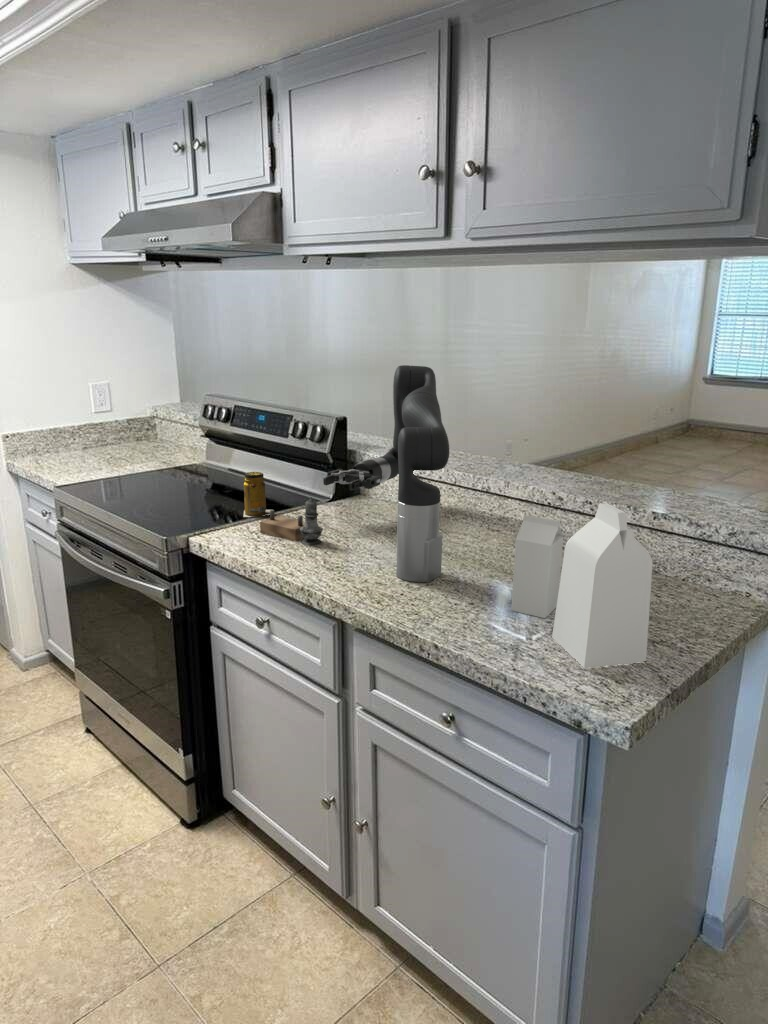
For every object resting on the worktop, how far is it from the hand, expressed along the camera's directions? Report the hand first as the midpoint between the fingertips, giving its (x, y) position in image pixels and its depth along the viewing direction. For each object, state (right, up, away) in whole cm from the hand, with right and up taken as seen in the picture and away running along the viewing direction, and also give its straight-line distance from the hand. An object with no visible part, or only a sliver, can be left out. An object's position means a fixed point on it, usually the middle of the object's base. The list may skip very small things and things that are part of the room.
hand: (337, 483), depth 189 cm
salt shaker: (-6, -15, -6) cm, 17 cm away
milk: (+50, -32, -62) cm, 86 cm away
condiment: (-24, -8, +19) cm, 32 cm away
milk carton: (+42, -27, -45) cm, 67 cm away
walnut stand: (-14, -13, +1) cm, 19 cm away
